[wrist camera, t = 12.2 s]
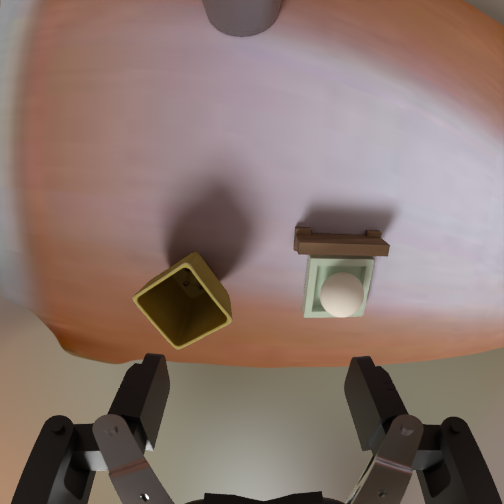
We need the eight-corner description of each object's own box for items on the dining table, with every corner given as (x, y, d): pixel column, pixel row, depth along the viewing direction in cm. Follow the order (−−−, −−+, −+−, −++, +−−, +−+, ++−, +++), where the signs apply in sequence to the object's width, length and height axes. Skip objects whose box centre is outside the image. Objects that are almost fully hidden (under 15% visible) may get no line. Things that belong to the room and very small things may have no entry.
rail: (295, 227, 39) (299, 236, 35) (378, 230, 39) (390, 239, 35) (293, 248, 40) (297, 260, 36) (375, 250, 40) (386, 261, 36)
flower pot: (151, 267, 41) (130, 298, 32) (200, 235, 39) (187, 261, 31) (189, 313, 43) (176, 351, 35) (237, 285, 42) (234, 321, 33)
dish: (307, 252, 40) (310, 258, 38) (368, 254, 40) (374, 259, 38) (301, 309, 43) (303, 317, 41) (358, 308, 43) (362, 316, 41)
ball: (318, 264, 40) (328, 285, 34) (359, 265, 40) (374, 284, 34) (313, 302, 42) (321, 326, 37) (352, 302, 42) (364, 325, 37)
